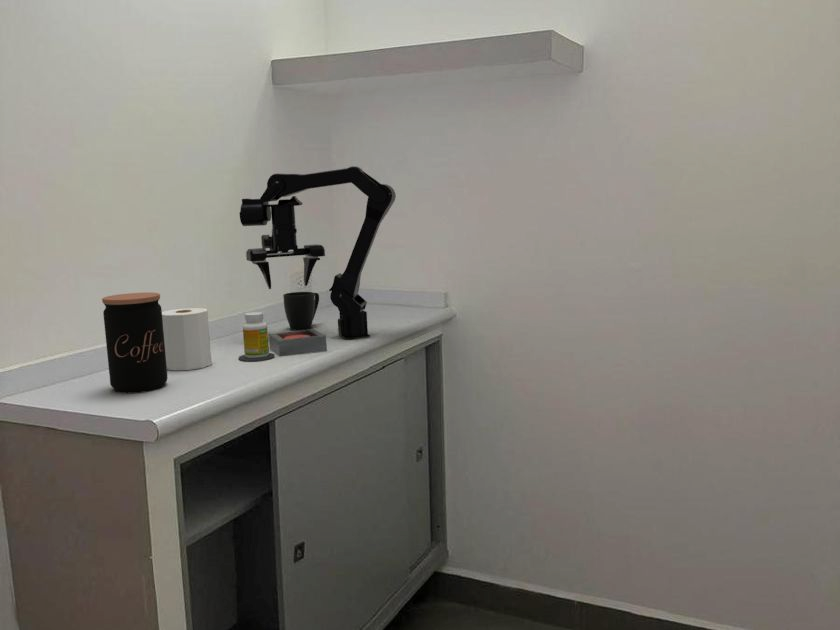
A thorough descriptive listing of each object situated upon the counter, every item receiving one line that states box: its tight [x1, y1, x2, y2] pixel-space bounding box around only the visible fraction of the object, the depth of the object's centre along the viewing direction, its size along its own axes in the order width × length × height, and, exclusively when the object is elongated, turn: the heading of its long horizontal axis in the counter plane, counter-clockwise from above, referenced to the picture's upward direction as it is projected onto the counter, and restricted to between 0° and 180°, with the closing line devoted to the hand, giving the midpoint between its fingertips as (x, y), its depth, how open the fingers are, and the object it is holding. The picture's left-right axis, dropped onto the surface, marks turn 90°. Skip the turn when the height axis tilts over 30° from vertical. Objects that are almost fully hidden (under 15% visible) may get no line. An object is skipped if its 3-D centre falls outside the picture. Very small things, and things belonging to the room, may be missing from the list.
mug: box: [282, 291, 320, 331], centre depth 226 cm, size 8×12×10 cm
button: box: [284, 335, 310, 339], centre depth 195 cm, size 6×6×2 cm
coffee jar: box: [101, 292, 168, 394], centre depth 162 cm, size 11×11×18 cm
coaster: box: [238, 352, 276, 363], centre depth 187 cm, size 8×8×1 cm
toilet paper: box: [162, 307, 213, 371], centre depth 181 cm, size 10×10×12 cm
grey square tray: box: [268, 328, 328, 357], centre depth 195 cm, size 11×11×4 cm
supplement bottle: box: [242, 311, 270, 358], centre depth 186 cm, size 5×5×10 cm
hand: (288, 287), depth 209 cm, fingers open, 9 cm apart
